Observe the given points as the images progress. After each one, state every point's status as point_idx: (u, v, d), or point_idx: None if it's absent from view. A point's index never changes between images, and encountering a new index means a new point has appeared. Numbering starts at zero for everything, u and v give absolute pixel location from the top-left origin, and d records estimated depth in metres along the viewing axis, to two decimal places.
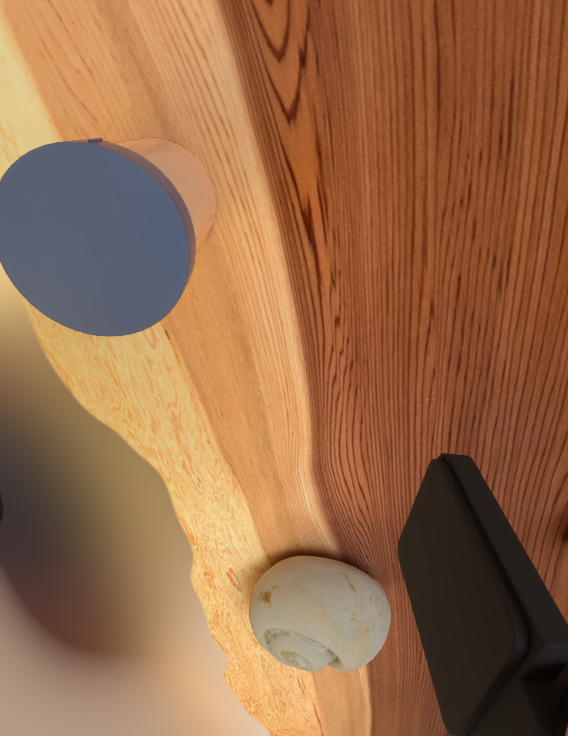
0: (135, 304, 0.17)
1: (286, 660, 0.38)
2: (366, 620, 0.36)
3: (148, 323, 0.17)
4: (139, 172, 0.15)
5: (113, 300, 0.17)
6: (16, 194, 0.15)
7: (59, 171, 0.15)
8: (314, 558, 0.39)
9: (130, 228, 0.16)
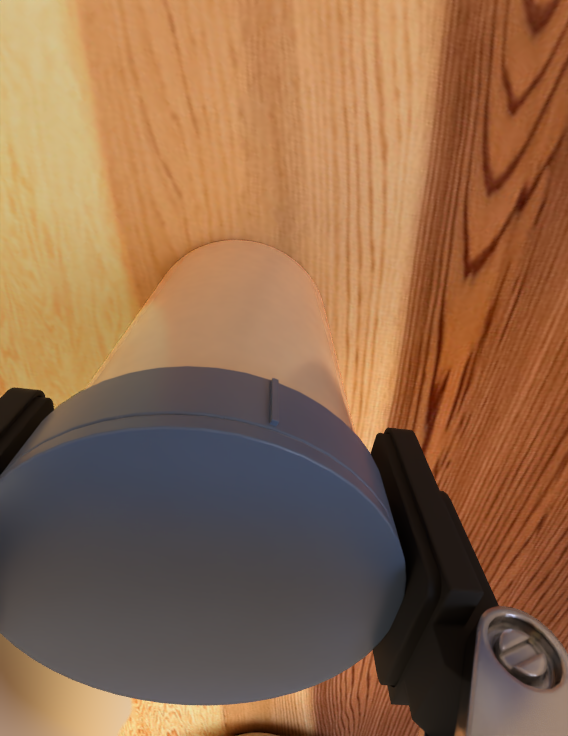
0: (237, 676, 0.08)
1: None
2: None
3: (247, 699, 0.09)
4: (368, 515, 0.06)
5: (195, 666, 0.08)
6: (53, 493, 0.06)
7: (181, 478, 0.06)
8: None
9: (292, 586, 0.07)
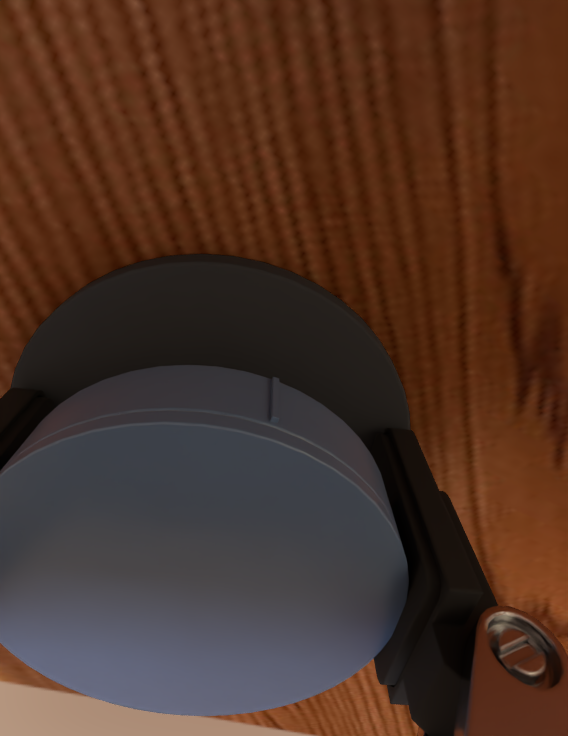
0: (236, 684, 0.08)
1: None
2: None
3: (247, 709, 0.09)
4: (370, 514, 0.06)
5: (194, 673, 0.08)
6: (52, 491, 0.06)
7: (181, 475, 0.06)
8: None
9: (293, 589, 0.07)
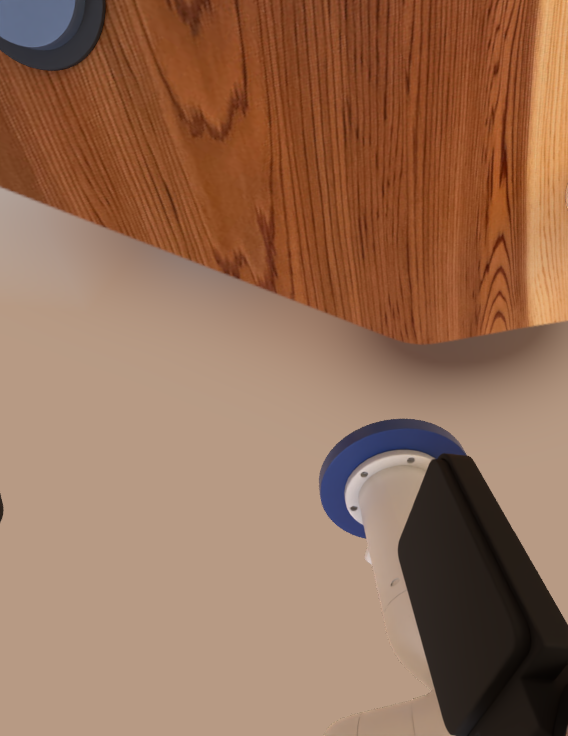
0: (37, 25, 0.28)
1: None
2: None
3: (43, 42, 0.28)
4: None
5: (23, 18, 0.28)
6: None
7: None
8: None
9: None
